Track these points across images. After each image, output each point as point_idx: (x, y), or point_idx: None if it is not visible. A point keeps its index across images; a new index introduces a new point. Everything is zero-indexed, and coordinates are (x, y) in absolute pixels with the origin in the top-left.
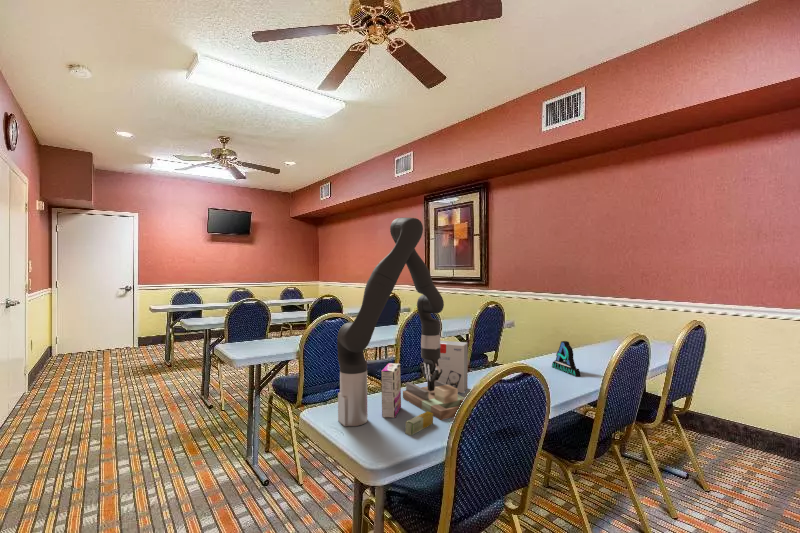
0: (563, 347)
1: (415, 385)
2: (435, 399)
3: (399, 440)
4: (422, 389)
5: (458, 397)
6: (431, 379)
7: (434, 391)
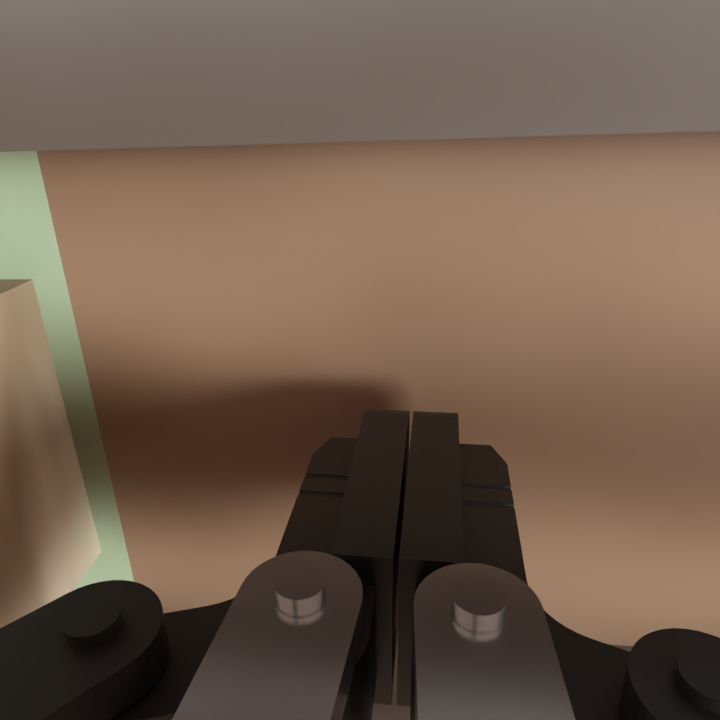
0: None
1: (695, 112)
2: (3, 276)
3: None
4: (141, 94)
5: None
6: (97, 620)
7: None
